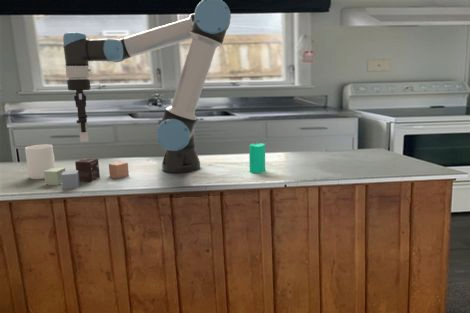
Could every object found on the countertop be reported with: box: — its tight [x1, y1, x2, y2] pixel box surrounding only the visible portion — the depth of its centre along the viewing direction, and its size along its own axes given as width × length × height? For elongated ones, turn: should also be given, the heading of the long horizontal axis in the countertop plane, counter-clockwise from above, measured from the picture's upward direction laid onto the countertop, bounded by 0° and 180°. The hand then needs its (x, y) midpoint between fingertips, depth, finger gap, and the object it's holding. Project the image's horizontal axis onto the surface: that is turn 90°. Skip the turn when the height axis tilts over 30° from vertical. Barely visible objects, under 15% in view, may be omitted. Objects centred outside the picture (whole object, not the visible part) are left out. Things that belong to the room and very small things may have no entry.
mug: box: [24, 143, 56, 180], centre depth 157 cm, size 10×12×12 cm
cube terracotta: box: [108, 161, 130, 179], centre depth 154 cm, size 5×5×5 cm
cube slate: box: [61, 169, 81, 190], centre depth 142 cm, size 5×5×5 cm
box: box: [74, 158, 101, 182], centre depth 150 cm, size 6×6×7 cm
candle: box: [248, 142, 266, 174], centre depth 155 cm, size 6×6×12 cm
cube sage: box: [44, 167, 66, 186], centre depth 147 cm, size 5×5×5 cm
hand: (83, 138), depth 148 cm, fingers open, 13 cm apart
